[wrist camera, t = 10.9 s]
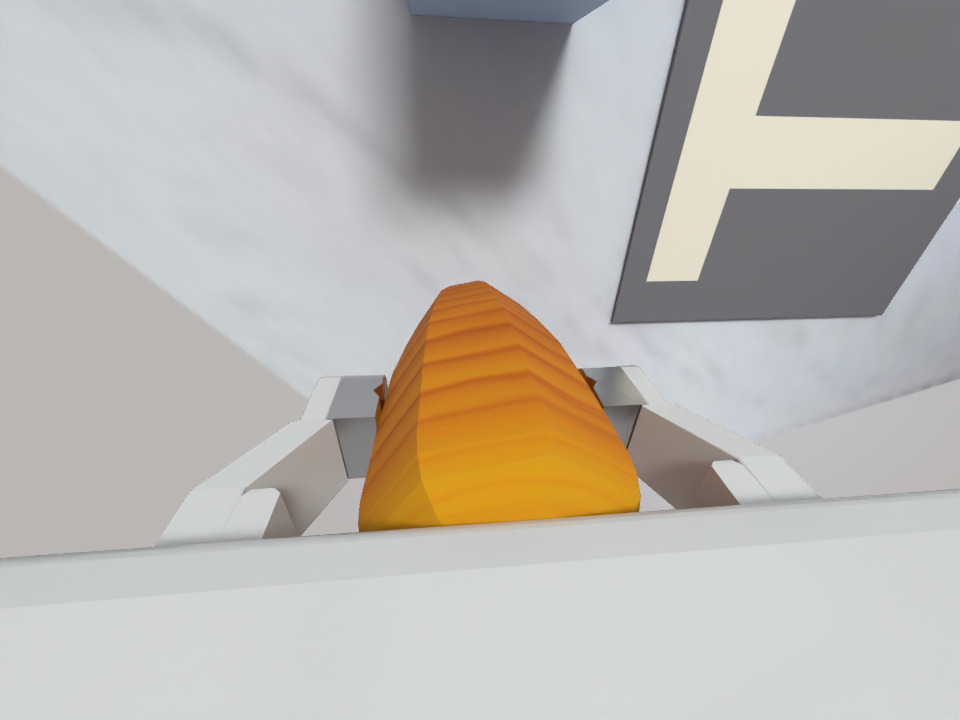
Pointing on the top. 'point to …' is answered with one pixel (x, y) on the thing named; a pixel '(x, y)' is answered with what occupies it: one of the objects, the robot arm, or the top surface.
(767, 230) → the letter mat
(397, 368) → the carrot
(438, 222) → the top surface
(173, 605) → the robot arm
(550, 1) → the slate cube
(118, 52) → the top surface
